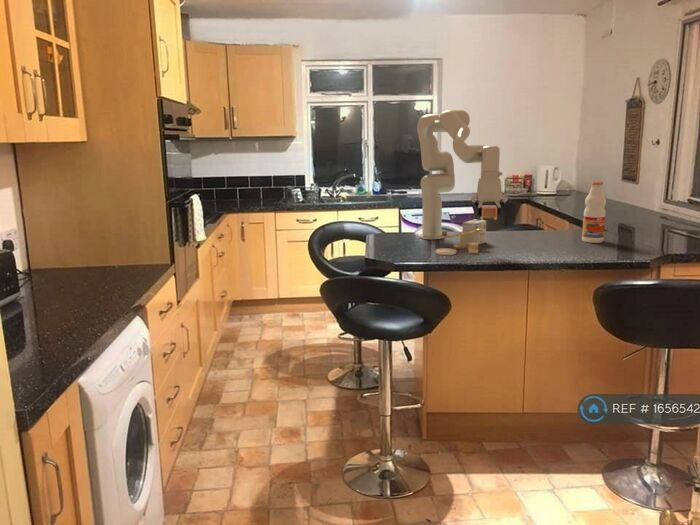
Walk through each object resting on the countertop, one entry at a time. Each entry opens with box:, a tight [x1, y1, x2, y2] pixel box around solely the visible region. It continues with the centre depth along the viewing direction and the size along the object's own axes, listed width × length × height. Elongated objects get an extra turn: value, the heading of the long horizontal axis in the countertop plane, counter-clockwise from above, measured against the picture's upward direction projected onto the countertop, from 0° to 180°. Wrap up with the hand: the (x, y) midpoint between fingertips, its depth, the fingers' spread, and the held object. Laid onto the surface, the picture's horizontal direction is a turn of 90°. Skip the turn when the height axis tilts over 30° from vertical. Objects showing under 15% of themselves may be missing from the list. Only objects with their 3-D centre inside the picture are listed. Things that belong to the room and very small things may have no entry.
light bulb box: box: [462, 218, 487, 245], centre depth 274 cm, size 11×7×11 cm, turn 135°
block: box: [467, 243, 479, 254], centre depth 257 cm, size 4×4×4 cm
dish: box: [435, 247, 457, 256], centre depth 256 cm, size 9×9×1 cm
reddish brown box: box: [479, 204, 498, 221], centre depth 253 cm, size 6×6×5 cm
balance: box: [440, 228, 484, 250], centre depth 266 cm, size 5×20×9 cm, turn 86°
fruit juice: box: [581, 181, 607, 244], centre depth 272 cm, size 9×9×28 cm
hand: (488, 216), depth 253 cm, fingers closed on reddish brown box, 6 cm apart
